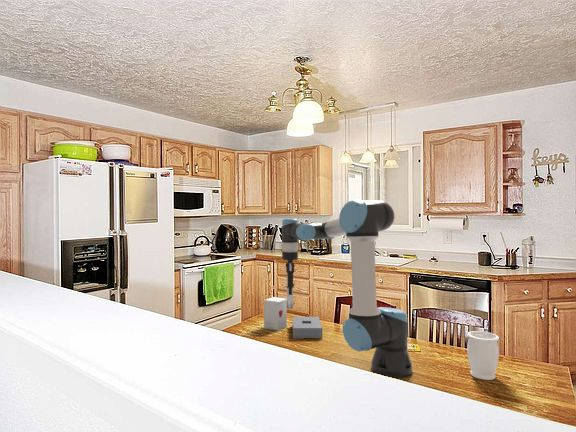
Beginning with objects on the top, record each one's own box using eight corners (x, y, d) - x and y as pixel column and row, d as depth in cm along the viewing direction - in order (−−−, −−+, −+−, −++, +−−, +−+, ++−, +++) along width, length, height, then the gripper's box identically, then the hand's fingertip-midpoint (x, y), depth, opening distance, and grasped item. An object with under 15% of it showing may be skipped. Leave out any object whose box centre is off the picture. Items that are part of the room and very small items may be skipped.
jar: (471, 367, 145) (471, 328, 145) (501, 374, 139) (501, 334, 139) (463, 376, 137) (463, 335, 137) (495, 384, 131) (495, 341, 131)
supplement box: (277, 331, 191) (277, 301, 191) (263, 328, 196) (263, 299, 196) (287, 326, 199) (287, 298, 199) (273, 324, 204) (273, 296, 204)
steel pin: (293, 308, 177) (293, 276, 177) (286, 308, 177) (286, 276, 177) (292, 306, 180) (292, 275, 180) (286, 307, 180) (286, 275, 180)
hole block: (322, 338, 180) (322, 328, 180) (293, 338, 180) (293, 328, 180) (318, 326, 200) (318, 316, 200) (292, 326, 200) (292, 316, 200)
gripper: (281, 249, 187) (281, 296, 187) (282, 252, 171) (282, 304, 171) (296, 249, 187) (297, 296, 187) (298, 252, 171) (298, 304, 171)
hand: (290, 300), depth 179 cm, fingers closed on steel pin, 3 cm apart
